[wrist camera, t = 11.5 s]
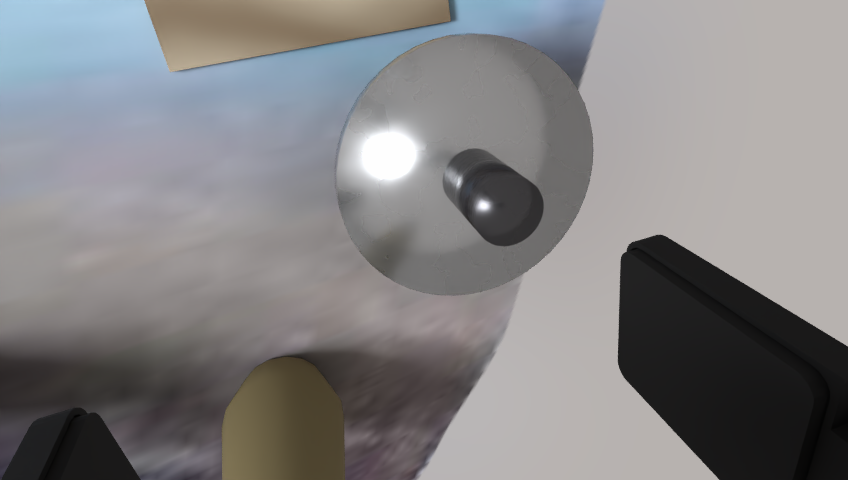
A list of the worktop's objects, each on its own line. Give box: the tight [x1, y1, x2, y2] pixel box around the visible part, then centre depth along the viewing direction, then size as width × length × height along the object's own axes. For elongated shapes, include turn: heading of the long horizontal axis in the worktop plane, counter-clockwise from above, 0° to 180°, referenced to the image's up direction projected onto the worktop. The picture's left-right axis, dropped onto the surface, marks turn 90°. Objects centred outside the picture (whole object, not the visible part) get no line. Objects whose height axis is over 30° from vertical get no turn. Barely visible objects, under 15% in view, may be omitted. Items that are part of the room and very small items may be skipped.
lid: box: [335, 33, 593, 296], centre depth 25 cm, size 14×14×6 cm
